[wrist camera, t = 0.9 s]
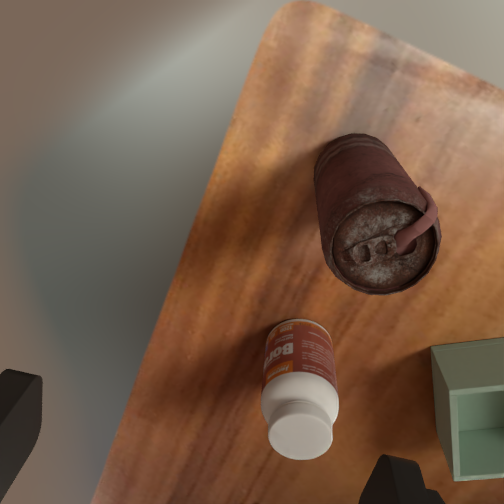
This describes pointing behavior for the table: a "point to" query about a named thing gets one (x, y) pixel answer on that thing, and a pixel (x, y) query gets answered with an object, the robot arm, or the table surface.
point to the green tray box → (470, 407)
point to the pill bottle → (299, 389)
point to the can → (373, 217)
